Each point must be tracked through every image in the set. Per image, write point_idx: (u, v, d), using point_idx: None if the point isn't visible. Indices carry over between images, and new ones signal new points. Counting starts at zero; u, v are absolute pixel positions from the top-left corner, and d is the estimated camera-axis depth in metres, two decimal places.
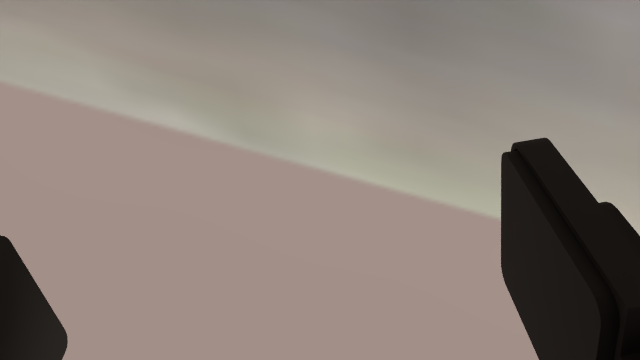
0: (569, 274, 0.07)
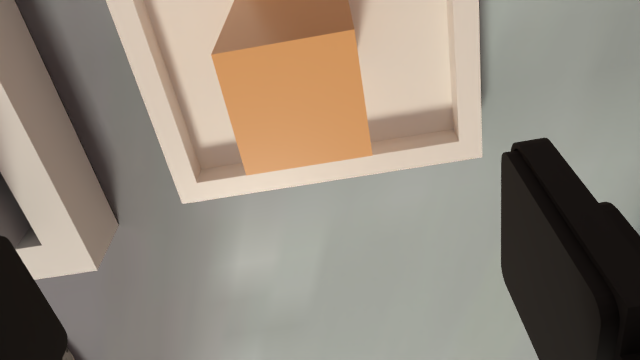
0: (569, 274, 0.07)
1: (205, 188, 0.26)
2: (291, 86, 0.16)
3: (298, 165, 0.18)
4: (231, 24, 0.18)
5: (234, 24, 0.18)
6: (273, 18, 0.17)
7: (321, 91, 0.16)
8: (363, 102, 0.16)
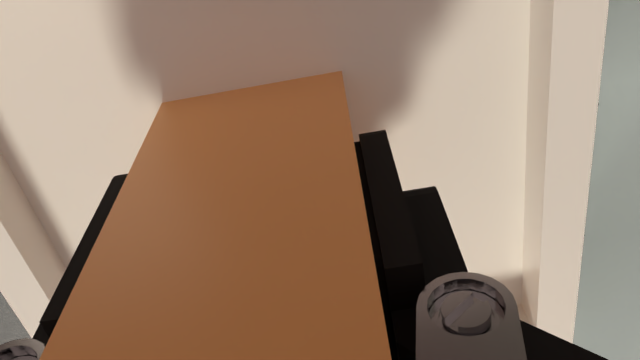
0: None
1: None
2: None
3: None
4: (100, 265, 0.08)
5: (106, 267, 0.08)
6: (195, 256, 0.08)
7: None
8: None
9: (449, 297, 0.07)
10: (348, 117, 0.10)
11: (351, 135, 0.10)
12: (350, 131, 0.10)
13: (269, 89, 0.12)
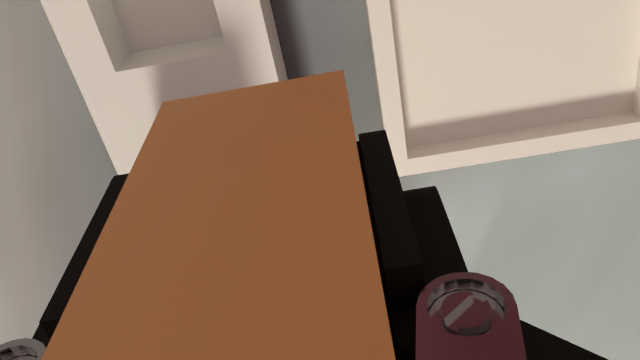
0: None
1: (414, 164, 0.30)
2: None
3: None
4: (102, 265, 0.08)
5: (108, 267, 0.08)
6: (197, 256, 0.08)
7: None
8: None
9: (449, 297, 0.07)
10: (350, 116, 0.10)
11: (353, 134, 0.10)
12: (352, 130, 0.10)
13: (270, 89, 0.12)
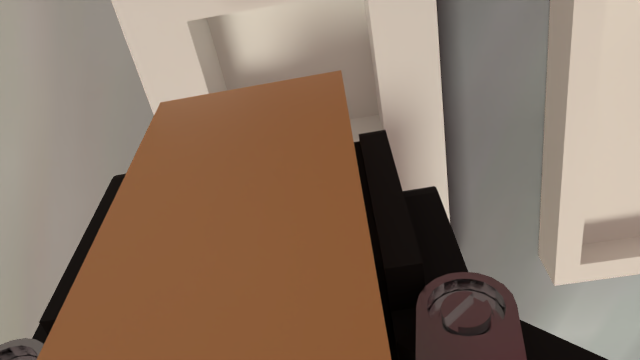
0: None
1: (587, 270, 0.23)
2: None
3: None
4: (98, 266, 0.08)
5: (104, 268, 0.08)
6: (194, 257, 0.07)
7: None
8: None
9: (449, 297, 0.07)
10: (348, 117, 0.10)
11: (351, 135, 0.10)
12: (350, 131, 0.10)
13: (268, 89, 0.12)
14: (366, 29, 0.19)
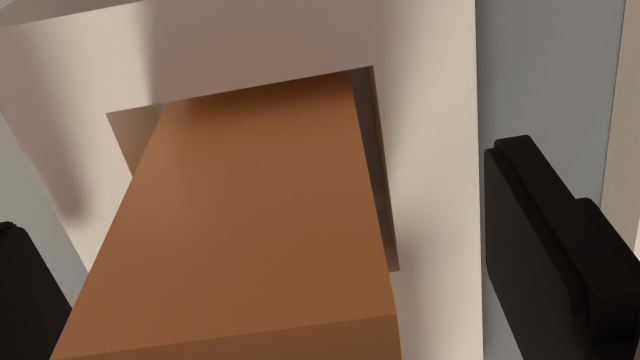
0: (544, 267, 0.07)
1: None
2: None
3: None
4: (128, 219, 0.09)
5: (134, 221, 0.09)
6: (215, 212, 0.08)
7: None
8: None
9: None
10: (352, 96, 0.11)
11: (355, 111, 0.10)
12: (354, 108, 0.11)
13: None
14: (369, 103, 0.14)
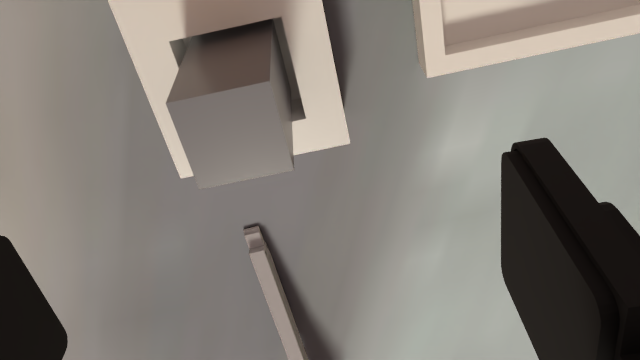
0: (569, 274, 0.07)
1: (451, 60, 0.28)
2: None
3: None
4: None
5: None
6: None
7: None
8: None
9: None
10: None
11: None
12: None
13: None
14: None
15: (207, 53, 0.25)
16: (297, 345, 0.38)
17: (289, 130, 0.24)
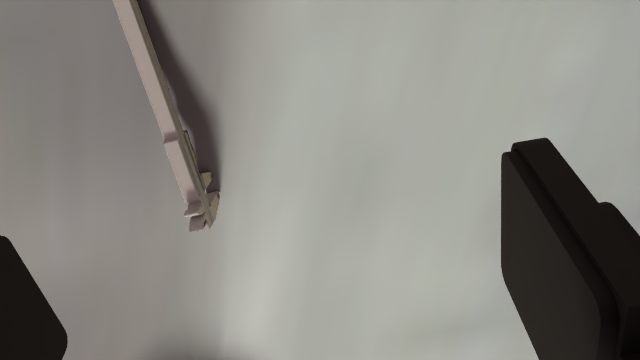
0: (569, 274, 0.07)
1: None
2: None
3: None
4: None
5: None
6: None
7: None
8: None
9: None
10: None
11: None
12: None
13: None
14: None
15: None
16: (154, 74, 0.36)
17: None
